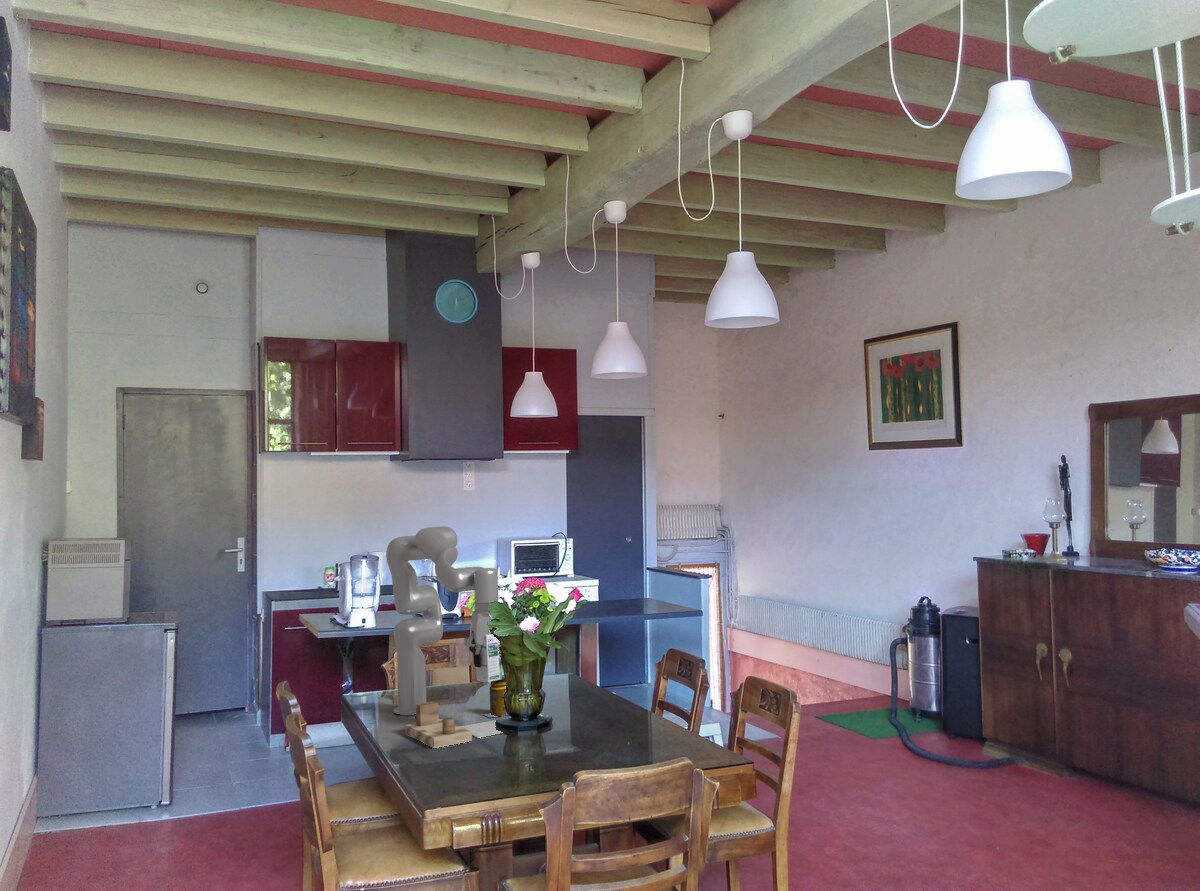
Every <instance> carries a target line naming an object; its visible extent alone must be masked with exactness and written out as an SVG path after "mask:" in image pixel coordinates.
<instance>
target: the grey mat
mask: <svg viewBox="0 0 1200 891" xmlns="http://www.w3.org/2000/svg"><path fill="white" fill-rule="evenodd" d="M496 720H497V719H494V720H488V721H483V722H477V723H473V724H472V723H471V724H466V725H461V726H460V725H459V726H460V727H462V728H464V729H467V730H469V731H471V732H472V735H473V736H475V737H477V738H480V739H482V738H481V737H486V736H491V735H495V734H500V733H503V732H501V731H498V730H496V728H495V727H496V726H495V722H496ZM473 736H472V737H473ZM475 737H474V738H475ZM491 737H492V736H491ZM477 738H476V739H477ZM486 738H487V737H486Z"/></svg>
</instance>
